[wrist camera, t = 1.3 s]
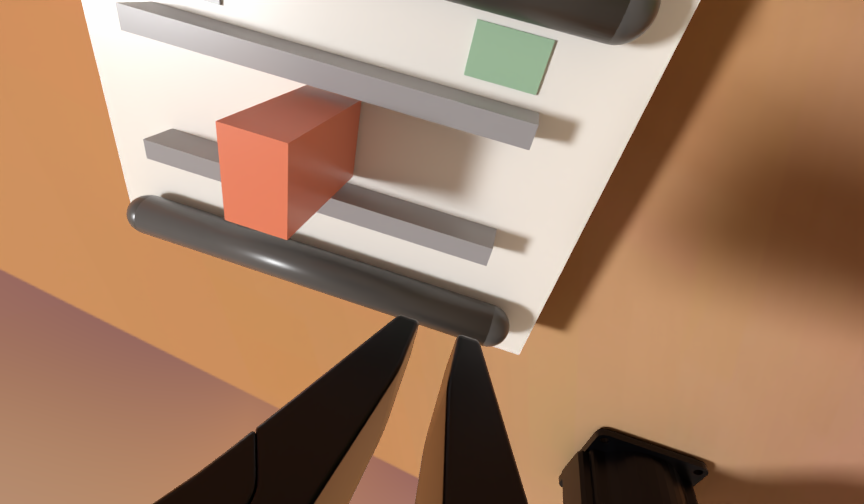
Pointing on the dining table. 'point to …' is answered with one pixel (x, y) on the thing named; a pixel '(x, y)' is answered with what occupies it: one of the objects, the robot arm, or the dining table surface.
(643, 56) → the panel
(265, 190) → the knob
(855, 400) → the dining table surface
